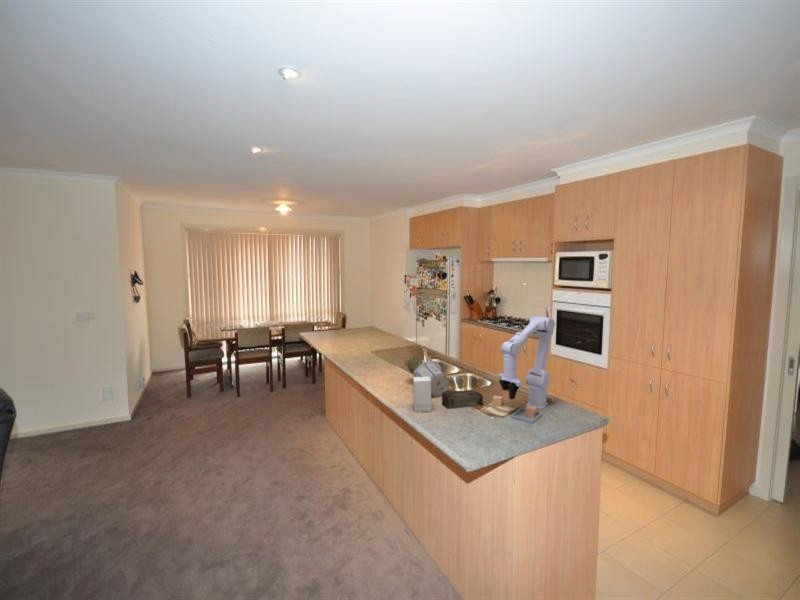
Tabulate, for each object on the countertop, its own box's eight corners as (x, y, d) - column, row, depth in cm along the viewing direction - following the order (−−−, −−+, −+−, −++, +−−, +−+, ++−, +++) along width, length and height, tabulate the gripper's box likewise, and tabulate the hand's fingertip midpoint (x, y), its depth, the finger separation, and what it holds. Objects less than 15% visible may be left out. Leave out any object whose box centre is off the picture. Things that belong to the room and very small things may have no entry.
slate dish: (521, 410, 184) (521, 407, 184) (542, 416, 178) (542, 412, 178) (510, 418, 175) (510, 415, 175) (532, 424, 169) (532, 421, 169)
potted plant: (456, 369, 203) (425, 345, 228) (426, 376, 195) (398, 350, 220) (452, 398, 209) (423, 371, 234) (423, 405, 201) (396, 377, 225)
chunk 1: (494, 403, 193) (494, 395, 193) (502, 404, 192) (502, 396, 191) (492, 405, 190) (492, 397, 189) (500, 407, 188) (501, 399, 188)
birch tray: (495, 402, 195) (495, 400, 195) (518, 408, 188) (518, 406, 188) (479, 412, 183) (479, 410, 183) (503, 418, 176) (503, 416, 175)
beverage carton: (483, 406, 190) (483, 393, 190) (446, 410, 186) (446, 397, 185) (476, 401, 198) (476, 388, 197) (441, 404, 194) (441, 391, 193)
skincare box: (430, 407, 190) (430, 376, 188) (431, 412, 183) (431, 380, 182) (413, 407, 190) (413, 376, 188) (414, 412, 183) (414, 380, 181)
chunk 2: (502, 398, 179) (502, 390, 179) (509, 397, 181) (509, 389, 180) (507, 401, 176) (507, 393, 175) (515, 400, 177) (515, 392, 176)
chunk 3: (528, 413, 181) (528, 404, 180) (537, 415, 178) (537, 406, 178) (525, 415, 178) (525, 407, 177) (533, 417, 175) (533, 409, 175)
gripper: (493, 365, 182) (492, 393, 183) (512, 373, 168) (511, 403, 170) (505, 363, 184) (505, 391, 186) (525, 371, 171) (525, 401, 172)
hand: (509, 397), depth 178 cm, fingers closed on chunk 2, 4 cm apart
